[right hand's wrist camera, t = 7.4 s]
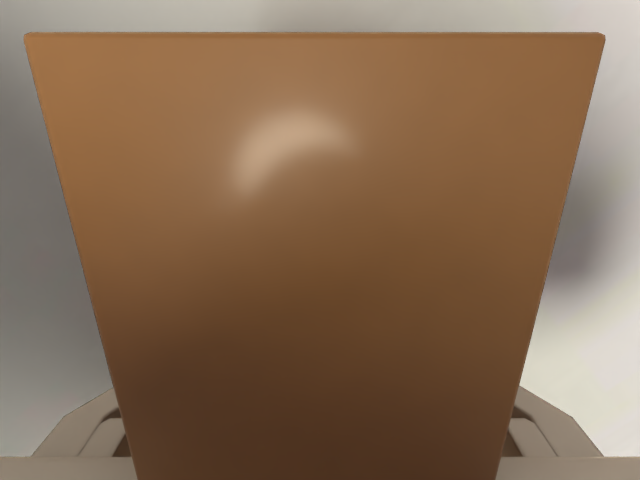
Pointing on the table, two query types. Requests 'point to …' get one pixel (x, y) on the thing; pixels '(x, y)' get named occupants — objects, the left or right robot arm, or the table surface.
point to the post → (315, 237)
